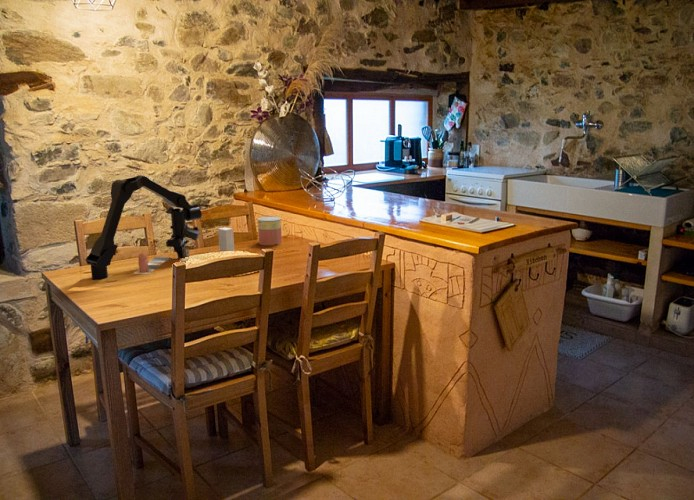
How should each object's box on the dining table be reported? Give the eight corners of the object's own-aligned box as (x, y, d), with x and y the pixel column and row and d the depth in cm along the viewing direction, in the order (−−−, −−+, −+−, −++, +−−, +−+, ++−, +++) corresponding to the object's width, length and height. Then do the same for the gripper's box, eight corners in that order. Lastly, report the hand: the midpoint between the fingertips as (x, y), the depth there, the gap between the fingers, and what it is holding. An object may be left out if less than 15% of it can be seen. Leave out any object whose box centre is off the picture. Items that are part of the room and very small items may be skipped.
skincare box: (235, 254, 258) (233, 228, 255) (227, 256, 255) (225, 230, 252) (227, 252, 262) (225, 227, 259) (219, 254, 259) (217, 228, 256)
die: (187, 259, 250) (186, 250, 249) (177, 259, 250) (177, 250, 249) (190, 257, 254) (189, 248, 253) (180, 257, 254) (180, 248, 253)
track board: (150, 276, 225) (150, 274, 224) (131, 276, 225) (130, 274, 224) (172, 259, 251) (172, 256, 250) (154, 259, 251) (154, 256, 251)
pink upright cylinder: (146, 272, 226) (145, 254, 224) (138, 272, 226) (136, 254, 225) (149, 270, 230) (148, 252, 228) (141, 270, 230) (139, 252, 228)
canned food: (261, 239, 287) (260, 216, 285) (284, 240, 286) (283, 216, 283) (256, 245, 277) (255, 220, 274) (279, 245, 275) (278, 220, 273)
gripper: (191, 227, 235) (193, 263, 239) (203, 218, 254) (205, 252, 257) (164, 227, 236) (167, 263, 239) (178, 218, 254) (180, 252, 257)
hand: (181, 258), depth 248 cm, fingers closed
